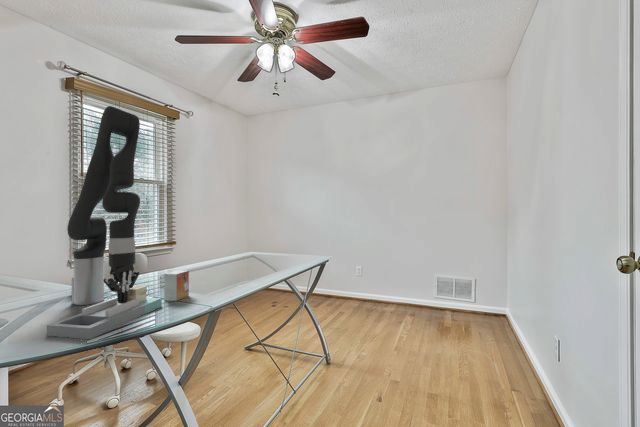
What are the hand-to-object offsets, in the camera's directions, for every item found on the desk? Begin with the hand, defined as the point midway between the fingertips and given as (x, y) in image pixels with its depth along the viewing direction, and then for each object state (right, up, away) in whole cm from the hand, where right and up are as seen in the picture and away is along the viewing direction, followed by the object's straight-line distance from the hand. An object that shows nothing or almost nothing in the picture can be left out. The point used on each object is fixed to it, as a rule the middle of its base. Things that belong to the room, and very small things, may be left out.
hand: (122, 302), depth 102 cm
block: (+1, -1, +5) cm, 5 cm away
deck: (-1, -4, -4) cm, 6 cm away
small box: (+9, -4, +20) cm, 22 cm away
